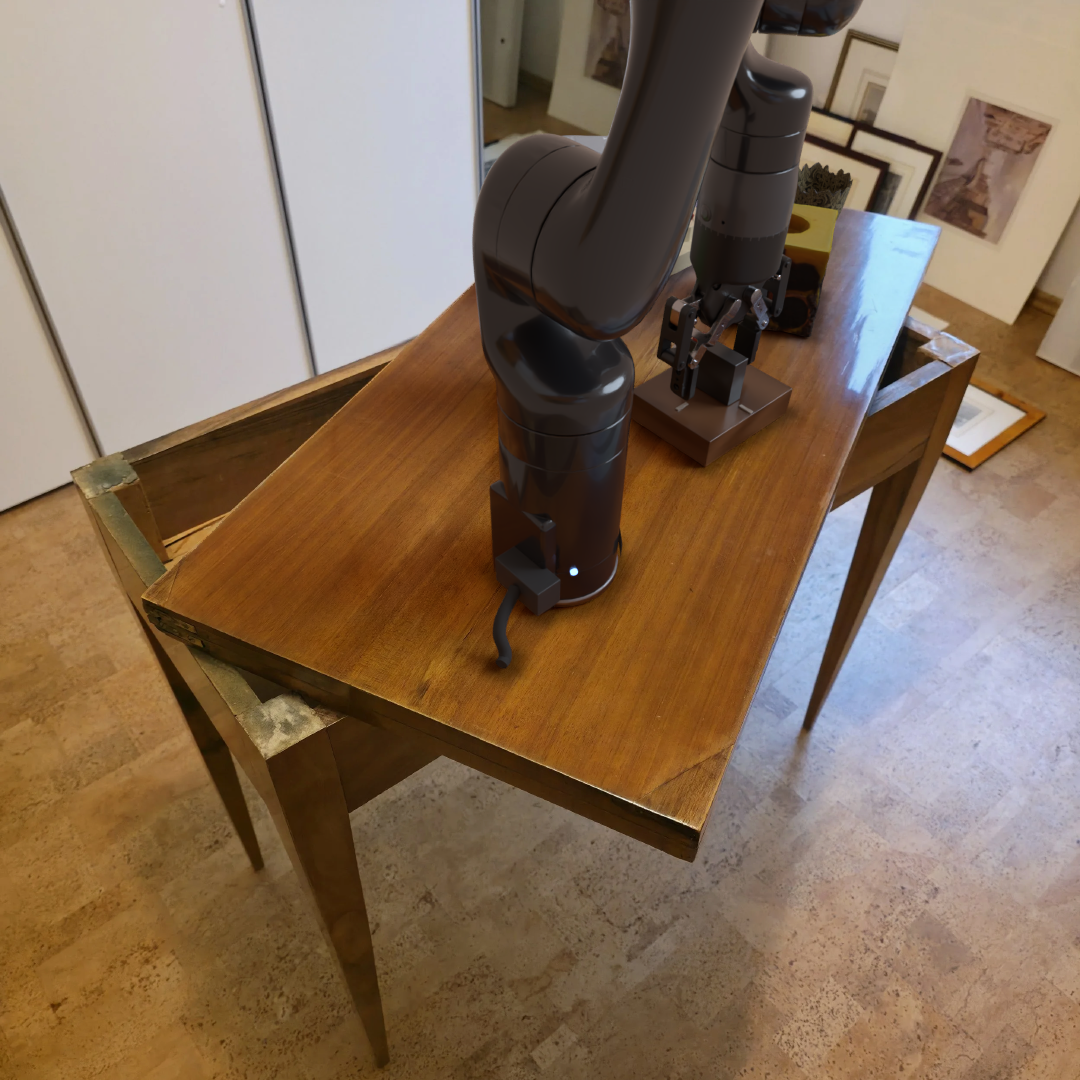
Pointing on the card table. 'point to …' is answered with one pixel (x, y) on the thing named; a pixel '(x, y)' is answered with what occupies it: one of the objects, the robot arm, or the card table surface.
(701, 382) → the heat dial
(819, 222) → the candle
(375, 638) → the card table surface
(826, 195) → the cup
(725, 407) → the dial panel
